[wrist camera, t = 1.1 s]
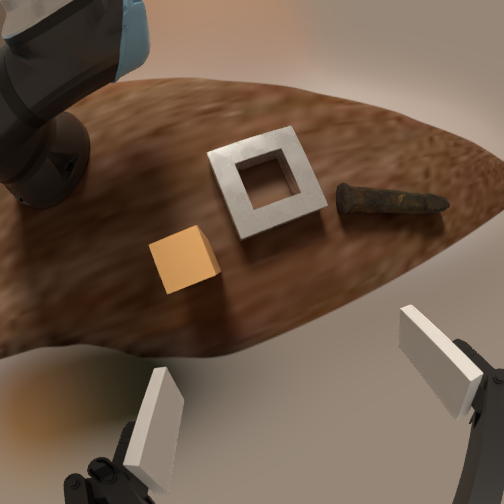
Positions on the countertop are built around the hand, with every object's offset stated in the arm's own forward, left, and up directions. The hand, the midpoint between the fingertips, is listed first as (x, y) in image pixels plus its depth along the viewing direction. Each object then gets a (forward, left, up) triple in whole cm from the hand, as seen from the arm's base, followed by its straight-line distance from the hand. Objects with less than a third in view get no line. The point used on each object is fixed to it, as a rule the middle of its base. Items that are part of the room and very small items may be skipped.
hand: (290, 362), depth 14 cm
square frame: (-14, +7, -21) cm, 26 cm away
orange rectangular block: (-8, -4, -21) cm, 23 cm away
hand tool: (-6, +24, -21) cm, 33 cm away
